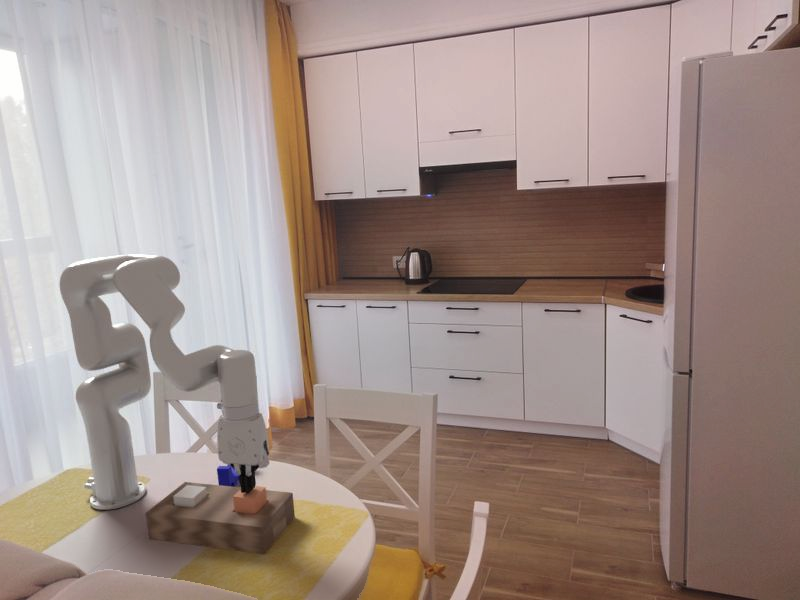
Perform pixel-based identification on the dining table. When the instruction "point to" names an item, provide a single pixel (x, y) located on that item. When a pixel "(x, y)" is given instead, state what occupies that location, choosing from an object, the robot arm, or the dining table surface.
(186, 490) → the white rectangular block
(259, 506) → the terracotta plunger
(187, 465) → the dining table surface
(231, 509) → the button box
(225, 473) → the cable clip
